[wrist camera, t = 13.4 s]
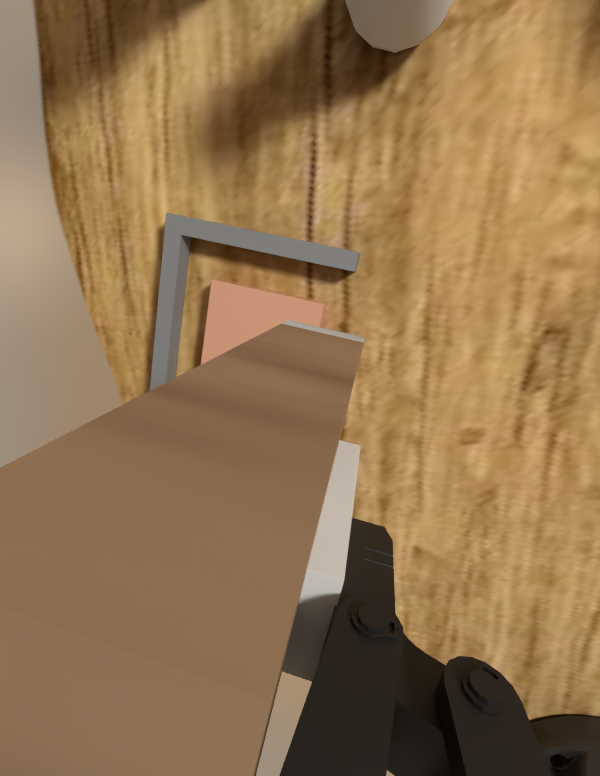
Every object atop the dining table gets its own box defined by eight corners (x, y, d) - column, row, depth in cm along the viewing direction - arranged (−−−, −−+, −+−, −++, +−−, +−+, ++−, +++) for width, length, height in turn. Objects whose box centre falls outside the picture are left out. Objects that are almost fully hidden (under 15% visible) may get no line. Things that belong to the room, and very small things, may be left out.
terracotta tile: (305, 405, 32) (300, 413, 30) (208, 380, 33) (197, 387, 31) (327, 301, 30) (324, 304, 28) (222, 278, 31) (211, 279, 29)
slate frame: (313, 454, 33) (310, 463, 31) (157, 412, 34) (146, 418, 33) (360, 253, 28) (359, 252, 26) (177, 215, 30) (166, 212, 28)
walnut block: (315, 536, 18) (143, 1224, 5) (250, 517, 19) (-68, 1112, 5) (365, 337, 16) (270, 700, 2) (288, 319, 16) (-163, 551, 3)
